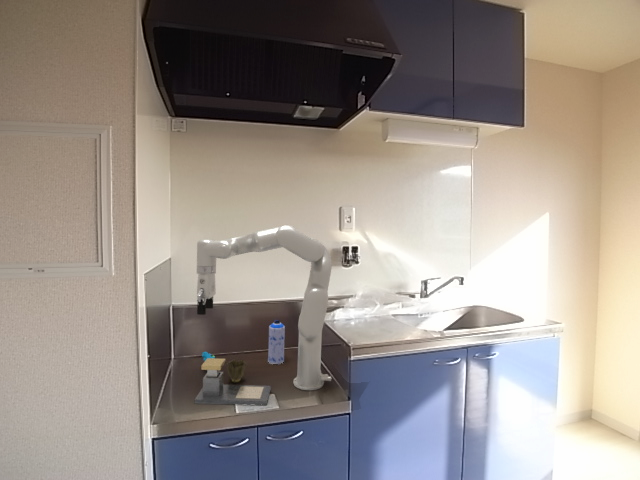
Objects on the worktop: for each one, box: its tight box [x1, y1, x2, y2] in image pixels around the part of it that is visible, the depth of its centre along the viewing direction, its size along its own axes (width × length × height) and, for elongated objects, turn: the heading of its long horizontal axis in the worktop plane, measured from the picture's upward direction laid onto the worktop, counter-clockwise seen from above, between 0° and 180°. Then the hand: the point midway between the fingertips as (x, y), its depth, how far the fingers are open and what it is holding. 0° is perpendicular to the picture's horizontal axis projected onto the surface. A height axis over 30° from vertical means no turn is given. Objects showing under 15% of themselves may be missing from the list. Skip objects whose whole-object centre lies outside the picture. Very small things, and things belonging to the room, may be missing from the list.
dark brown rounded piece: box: [226, 359, 247, 384], centre depth 144 cm, size 8×7×8 cm
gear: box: [201, 351, 215, 362], centre depth 156 cm, size 11×6×10 cm
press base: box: [193, 371, 271, 406], centre depth 132 cm, size 26×12×8 cm, turn 91°
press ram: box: [200, 358, 226, 378], centre depth 132 cm, size 7×7×8 cm
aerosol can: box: [267, 318, 286, 365], centre depth 166 cm, size 8×8×20 cm
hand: (205, 311), depth 143 cm, fingers open, 9 cm apart
